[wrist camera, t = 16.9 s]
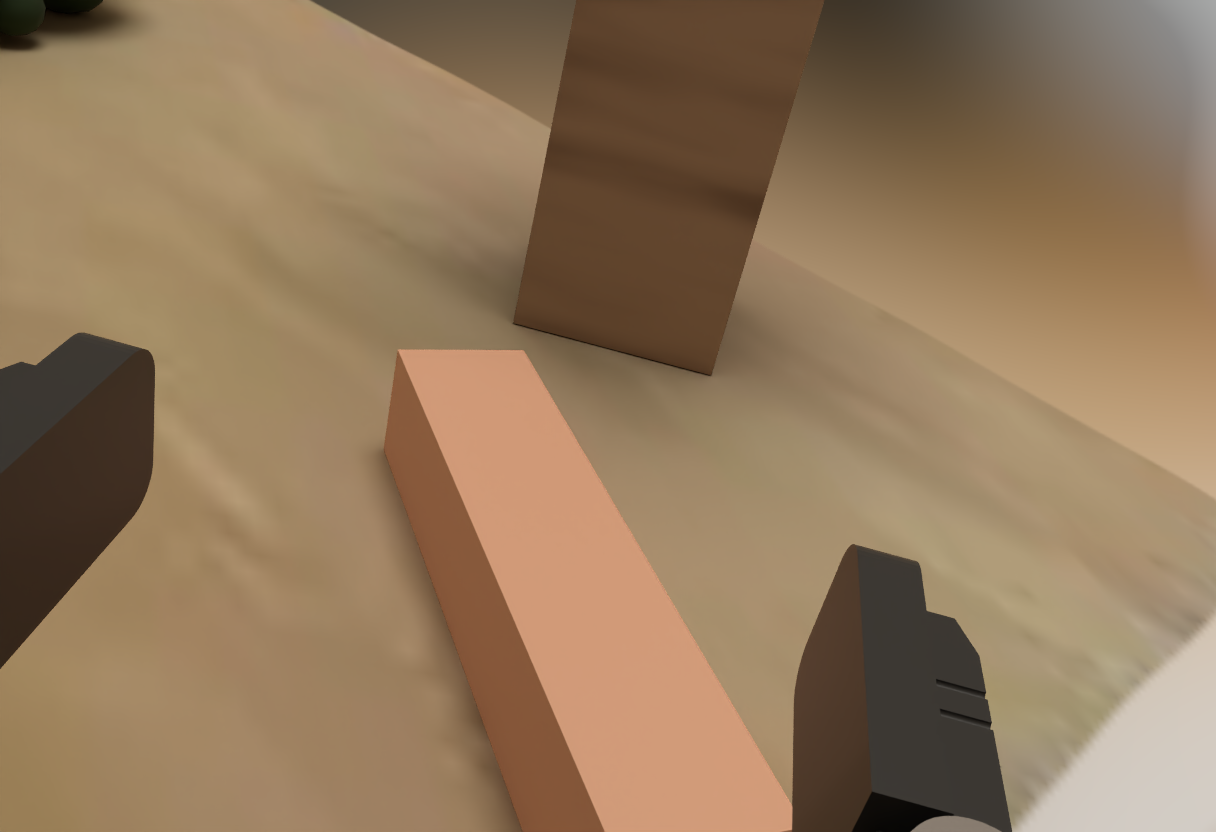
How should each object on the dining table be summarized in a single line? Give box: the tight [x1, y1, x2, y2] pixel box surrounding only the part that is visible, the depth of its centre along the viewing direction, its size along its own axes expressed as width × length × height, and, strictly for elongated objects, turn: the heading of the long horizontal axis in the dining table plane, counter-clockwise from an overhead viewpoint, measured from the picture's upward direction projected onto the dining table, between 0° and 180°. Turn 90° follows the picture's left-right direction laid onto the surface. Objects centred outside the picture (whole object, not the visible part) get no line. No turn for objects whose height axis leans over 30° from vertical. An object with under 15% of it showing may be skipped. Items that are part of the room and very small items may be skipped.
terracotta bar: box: [384, 350, 792, 832], centre depth 26 cm, size 16×4×4 cm, turn 22°
